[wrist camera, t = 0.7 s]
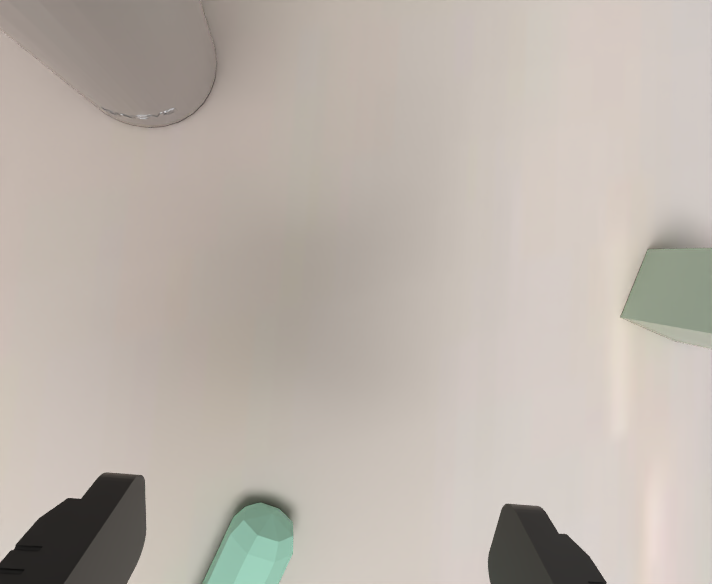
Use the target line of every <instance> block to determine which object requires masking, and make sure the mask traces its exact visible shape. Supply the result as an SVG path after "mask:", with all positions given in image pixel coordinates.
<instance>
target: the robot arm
mask: <svg viewBox="0 0 712 584" xmlns="http://www.w3.org/2000/svg"><path fill="white" fill-rule="evenodd" d="M0 30H2V31H3V32H4V33H5V34H7V35H8V36H9V37H10V38H12V39H13V40H14V41H15V42H17V43H18V44H19V45H20V46H21V47H23V48H24V49H25V50H26V51H28V52H29V53H30V54H31V55H33V56H34V57H35V58H36V59H38V60H39V61H40V62H41V63H43V64H44V65H45V66H46V67H48V68H49V69H50V70H51V71H52V72H54V73H55V74H56V75H57V76H59V77H60V78H61V79H62V80H64V81H65V82H66V83H67V84H68V85H70V86H71V87H72V88H74V89H75V90H76V91H77V92H79V93H80V94H81V95H82V96H84V97H85V98H86V99H87V100H89V101H90V102H91V103H93V104H94V105H95V106H96V107H98V108H99V109H100V110H101V111H103V112H104V113H105V114H107V115H109V116H111V117H113V118H115V119H117V120H119V121H122V122H125V123H128V124H131V125H135V126H144V127H158V126H166V125H170V124H173V123H176V122H179V121H181V120H183V119H184V118H186V117H188V116H189V115H191V114H193V113H194V112H195V111H196V110H197V109H198V108H199V107H200V106H201V105H202V104H203V102H204V101H205V99H206V98H207V96H208V95H209V93H210V91H211V88H212V85H213V82H214V80H215V74H216V65H217V62H216V52H215V46H214V43H213V40H212V37H211V33H210V30H209V27H208V24H207V21H206V17H205V14H204V11H203V7H202V4H201V1H200V0H0ZM145 536H146V505H145V480H144V477H143V476H142V475H133V474H119V473H103V474H102V475H100V476H99V477H98V478H97V480H96V481H95V482H94V483H93V485H92V486H91V487H90V488H89V490H88V491H87V492H86V493H85V495H84V496H83V497H82V498H81V499H74V498H67V499H66V500H65V501H63V502H62V503H60V504H59V505H57V506H56V507H55V508H53V509H52V510H50V511H49V512H48V513H46V514H45V515H43V516H42V517H40V518H39V519H38V520H37V521H36V522H35V523H34V525H33V526H32V527H31V528H30V529H29V530H28V531H27V533H26V534H25V535H24V536H23V537H22V538H21V539H20V541H19V542H18V543H17V544H16V547H15V549H14V550H11V551H10V552H9V553H8V554H7V555H6V557H5V558H4V559H3V560H2V561H1V562H0V584H127V582H128V580H129V578H130V576H131V574H132V572H133V571H134V569H135V567H136V565H137V563H138V560H139V558H140V555H141V552H142V549H143V546H144V541H145ZM488 571H489V578H490V582H491V584H606V581H605V579H604V578H603V576H602V575H601V573H600V572H599V570H598V569H597V567H596V566H595V564H594V563H593V561H592V560H591V558H590V557H589V556H588V555H587V554H586V553H585V552H584V551H583V550H582V549H581V548H580V547H579V546H578V545H577V544H576V543H575V542H574V541H573V540H572V539H571V538H570V537H569V536H568V535H567V534H559V533H558V532H557V530H556V528H555V527H554V525H553V523H552V522H551V520H550V519H549V517H548V515H547V514H546V512H545V511H544V510H543V509H542V508H541V507H539V506H530V505H517V504H505V505H504V506H503V508H502V510H501V513H500V517H499V520H498V524H497V527H496V531H495V534H494V538H493V541H492V545H491V548H490V552H489V557H488Z"/></svg>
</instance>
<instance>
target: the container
mask: <svg viewBox="0 0 712 584" xmlns="http://www.w3.org/2000/svg"><path fill="white" fill-rule="evenodd" d="M292 554H293V522H292V521H291V520H290V519H289V518H288V517H287V516H286V515H285V514H284V513H283V512H282V511H281V510H280V509H279V508H276V507H273V506H270V505H267V504H264V503H261V502H260V503H256V504H253V505H249V506H246V507H244V508H243V509H242V510H241V511H240V512H239V513H237V514H236V515H235V516H234V517H233V519H232V521H231V523H230V526H229V528H228V530H227V532H226V534H225V536H224V538H223V540H222V543H221V545H220V547H219V549H218V551H217V553H216V555H215V557H214V560H213V562H212V564H211V566H210V568H209V570H208V572H207V575H206V577H205V579H204V581H203V583H202V584H279V582H280V580H281V577H282V575H283V573H284V571H285V569H286V567H287V565H288V562H289V560H290V558H291V556H292Z"/></svg>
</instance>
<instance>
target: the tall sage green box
mask: <svg viewBox="0 0 712 584" xmlns="http://www.w3.org/2000/svg"><path fill="white" fill-rule="evenodd" d="M621 318H623V319H625V320H628V321H630V322H632V323H635V324H637V325H639V326H641V327H644V328H646V329H648V330H650V331H653V332H655V333H657V334H659V335H662V336H664V337H666V338H669V339H671V340H673V341H675V342H680V343H685V344H689V345H694V346H699V347H703V348H708V349H712V248H684V249H648V250H647V253H646V255H645V258H644V260H643V263H642V265H641V268H640V270H639V273H638V275H637V278H636V280H635V283H634V285H633V288H632V290H631V293H630V295H629V298H628V300H627V302H626V305H625V307H624V310H623V312H622V315H621Z"/></svg>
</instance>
